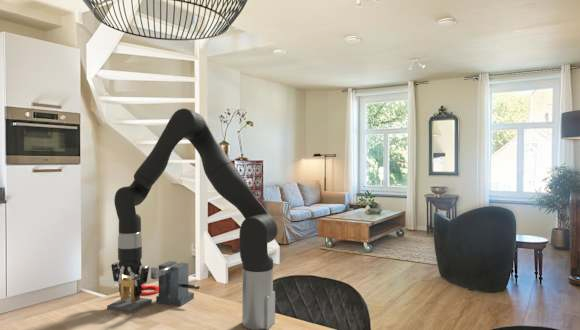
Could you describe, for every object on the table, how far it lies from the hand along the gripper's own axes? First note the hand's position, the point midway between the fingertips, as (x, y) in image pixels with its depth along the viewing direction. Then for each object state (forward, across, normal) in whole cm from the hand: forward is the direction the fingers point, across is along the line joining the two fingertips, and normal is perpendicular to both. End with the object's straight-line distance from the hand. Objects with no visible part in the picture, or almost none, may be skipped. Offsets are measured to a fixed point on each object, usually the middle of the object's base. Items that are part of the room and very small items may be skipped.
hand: (130, 294), depth 138 cm
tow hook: (+4, +4, -14) cm, 15 cm away
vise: (+4, -13, -6) cm, 15 cm away
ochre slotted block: (+2, 0, 0) cm, 2 cm away
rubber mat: (+4, 0, 0) cm, 4 cm away
